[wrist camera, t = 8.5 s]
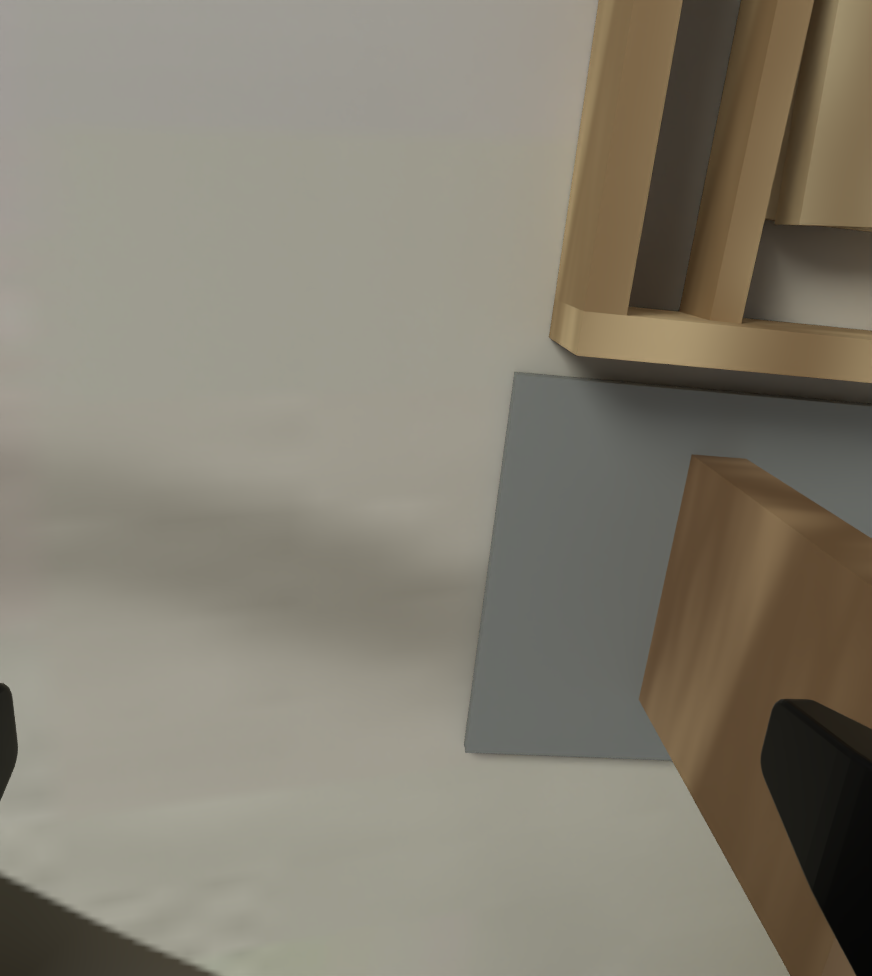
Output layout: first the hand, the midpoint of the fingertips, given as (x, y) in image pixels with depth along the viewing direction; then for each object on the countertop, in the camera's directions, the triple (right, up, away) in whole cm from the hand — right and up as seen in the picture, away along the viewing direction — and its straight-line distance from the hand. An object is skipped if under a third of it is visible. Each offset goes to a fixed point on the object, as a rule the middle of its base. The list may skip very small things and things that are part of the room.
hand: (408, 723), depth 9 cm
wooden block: (+8, 0, +14) cm, 16 cm away
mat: (+8, 0, +14) cm, 16 cm away
